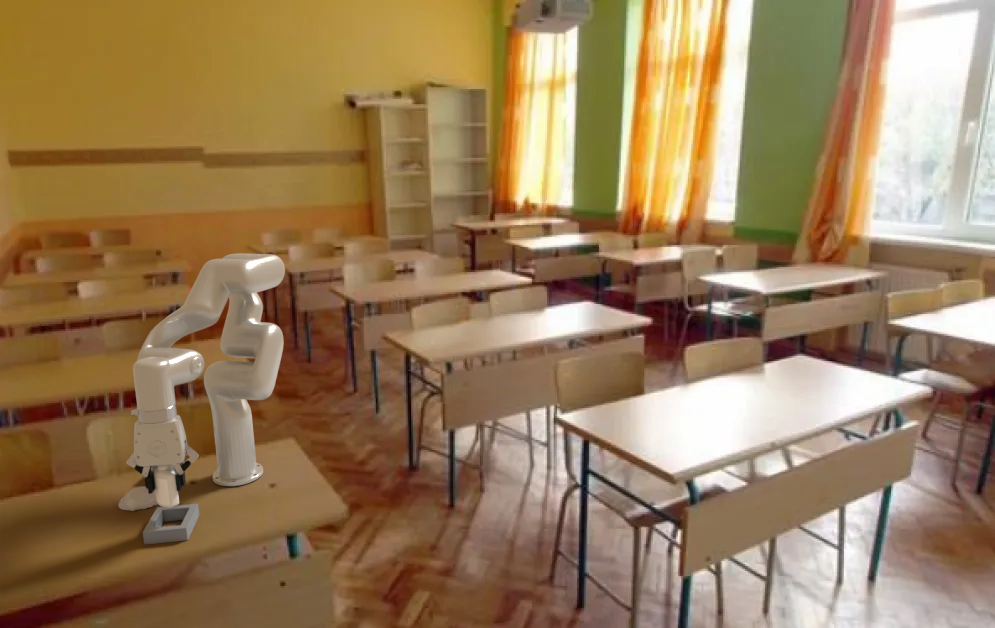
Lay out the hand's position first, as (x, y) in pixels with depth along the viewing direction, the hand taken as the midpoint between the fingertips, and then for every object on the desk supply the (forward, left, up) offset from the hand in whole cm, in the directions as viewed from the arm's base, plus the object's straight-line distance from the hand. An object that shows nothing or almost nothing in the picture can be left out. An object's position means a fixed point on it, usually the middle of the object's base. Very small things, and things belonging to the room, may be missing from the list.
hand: (166, 489), depth 156 cm
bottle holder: (0, 0, -10) cm, 10 cm away
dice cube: (-28, -8, -11) cm, 31 cm away
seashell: (-16, -11, -11) cm, 22 cm away
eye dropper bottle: (0, 0, -4) cm, 4 cm away
